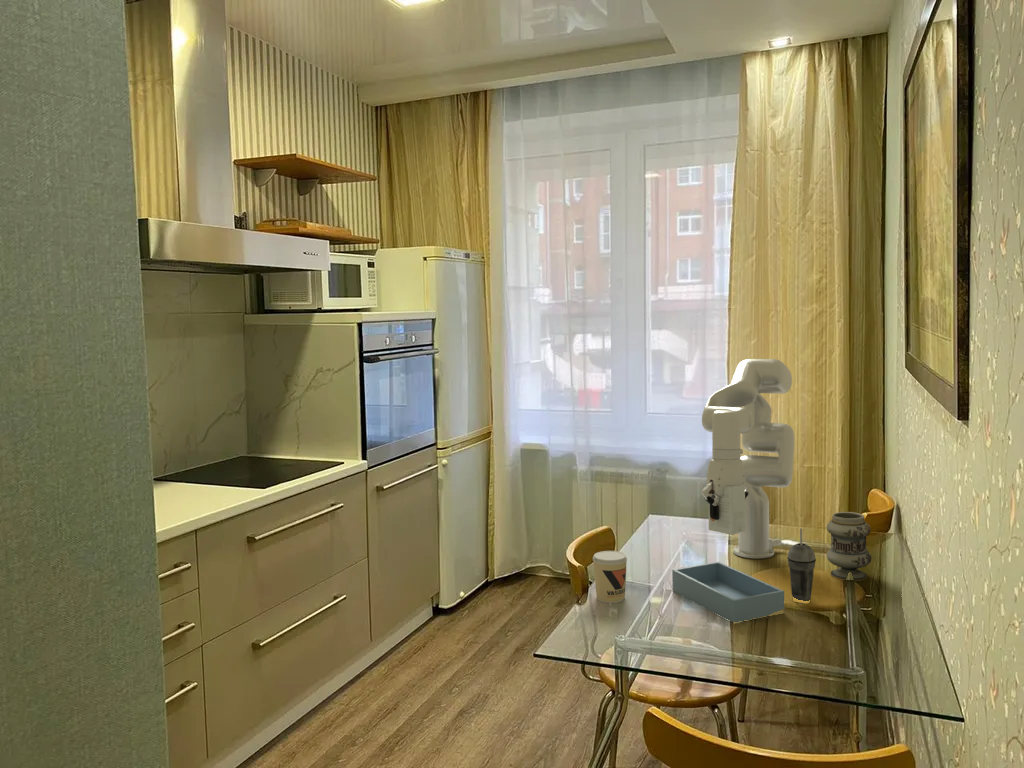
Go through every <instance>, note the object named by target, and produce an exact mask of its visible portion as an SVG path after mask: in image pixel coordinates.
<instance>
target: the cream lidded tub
mask: <svg viewBox="0 0 1024 768" xmlns="http://www.w3.org/2000/svg"><path fill="white" fill-rule="evenodd" d="M627 560H628V557H627V555H626V553H624V552H621V551H618V550H604V551H603V550H601V551H598V552H595V553H594V554H593V557H592V561H593V573H594V582H595V583H594V585H595V593H596V599H597V600H598V601H599V602H602V603H606V604H607V603H609V604H610V603H611V604H612V603H615V604H616V603H620V602H623V601H624V600H625V597H626V586H627V585H626V583H627V582H626V581H627V562H628V561H627Z"/></svg>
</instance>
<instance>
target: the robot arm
mask: <svg viewBox="0 0 1024 768" xmlns="http://www.w3.org/2000/svg"><path fill="white" fill-rule="evenodd" d="M792 382H793V378H792V372H791V371H790V369H789V367H788V366H787V365H786V364H785V363H784V362H783V361H782V360H780V359H776V358H749V359H748V358H747V359H744V360H742V361H740V362H739V363H738V364H737V365H736V368H735V370H734V373H733V375H732V377H731V381H730V384H729V385H727V386H725V387H722V388H721V389H719V390H718V391H715V392H714V393H713V394H712V395H711V394H710V395H711V396H709V397H708V399H707V401H706V404H704V405H705V406H704V408H703V411H702V414H701V424H702V427H703V429H704V430H705V431H707V432H708V433H712V441H711V442H712V443H711V445H712V451H711V453H712V455H711V456H712V459H709V463H708V468H707V473H706V474H707V475H706V485H705V486H704V487H703V488H702V490H700V494H701V496H702V497H703V498H704V500H705V501H706V502H707V505H708V504H710V518H712V519H715V520H718V519H719V506H718V505H717V503H718V501H719V499H720V497H722V496H723V495H724V488H725V487H730V486H739V485H745V531H743V532H740V533H737V545H736V546H734V547H733V549H732V551H733V554H734V555H736V556H738V557H742V558H744V559H757V560H759V559H768V558H772V557H773V556H774V555H775V550H774V546H778V545H779V546H780V545H782V540H781V539H780V538H774V539H773V538H771V537H770V500H769V497H768V495H767V493H766V492H765V490H764V489H763V488H762V487H769V488H771V487H772V488H787V487H789V486H790V485H791V484H792V480H793V474H794V473H793V472H794V458H795V455H794V454H795V432H794V429H793V427H792V426H791V425H790V424H789V423H788V424H787V423H784V422H783V423H781V422H780V423H779V422H772V407H771V405H770V403H769V402H768V400H766V397H764V396H763V395H762V394H779V395H780V394H786V393H788V392H789V391H790V390H791V388H792V384H793V383H792ZM741 443H742V446H743V448H744V449H745V450H746V451H748V452H753V453H767V454H769V453H770V454H777V455H778V456H772V455H771V456H770V455H757V454H756V455H755V454H748V455H741V454H743V453H744V449H742V448H741ZM712 488H714V490H713V491H712V493H711V495H710V496H709V494H710V492H709V491H710V490H711V489H712ZM714 491H715V493H714ZM714 496H715V499H714Z"/></svg>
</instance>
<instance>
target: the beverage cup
mask: <svg viewBox="0 0 1024 768" xmlns="http://www.w3.org/2000/svg"><path fill="white" fill-rule="evenodd" d="M786 558H787V563H788V568H789V576H790V577H789V578H790V588H791V589H790V590H791V597H792V596H793V597H794V598H796V599H798V600H803V601H809V600H810V601H811V599H812V592H813V580H814V571H815V570H814V569H815V567H816V562H817V557H816V555H815V552H814V550H813V548H812V547H811V546H810V545H808V544H806V543H803V528H799V542H798V543H795V544H794V545H792V546H791V547H790V549H788V552H787V557H786Z"/></svg>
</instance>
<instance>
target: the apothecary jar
mask: <svg viewBox="0 0 1024 768" xmlns="http://www.w3.org/2000/svg"><path fill="white" fill-rule="evenodd" d="M865 519H866V518H865V515H863V514H861V513H858V512H854V511H852V512H851V511H840V512H834V513H833V514H832V517H831V520H830V521H829V522H828V523H827V525H826V530H827V532H828V533H829V534H830V541H831V542H830V548H829V549H828V551H827V552H826V558H827V561H828V562H829V563H831V564H832V565H833V566H836V567H837V568H836V569H833V570H832V571H831V572H830V575H831V576H832V577H833V579H837V580H841V581H845V580H846V578H847V576H848V573H849V572H851V573H852V576H853V579H854V580H855V581H854V582H861V581H864V580H867V578H868V574H867V573H865V572H864V571H862V570H860V569H861V568H865V567H866V566H868V565H869V564H870V563H871V561H872V555H871V553H870V551H868V549H867V536H869V535H870V534H871V530H872V528H871V526H870V525H869V523H867V522H866V520H865Z"/></svg>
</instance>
